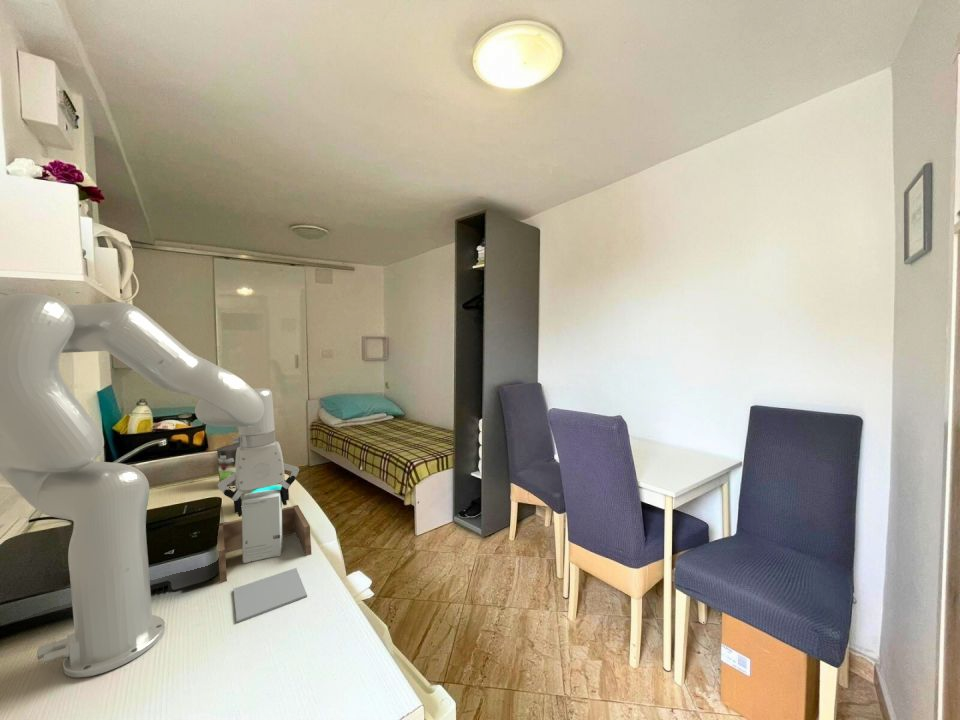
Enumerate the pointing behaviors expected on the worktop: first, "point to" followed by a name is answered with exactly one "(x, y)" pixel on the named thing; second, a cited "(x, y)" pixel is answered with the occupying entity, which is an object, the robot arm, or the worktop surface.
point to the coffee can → (227, 462)
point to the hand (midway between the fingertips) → (262, 508)
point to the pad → (268, 594)
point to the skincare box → (261, 525)
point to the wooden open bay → (290, 524)
